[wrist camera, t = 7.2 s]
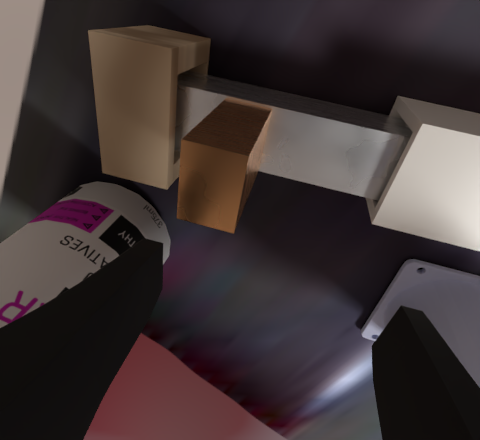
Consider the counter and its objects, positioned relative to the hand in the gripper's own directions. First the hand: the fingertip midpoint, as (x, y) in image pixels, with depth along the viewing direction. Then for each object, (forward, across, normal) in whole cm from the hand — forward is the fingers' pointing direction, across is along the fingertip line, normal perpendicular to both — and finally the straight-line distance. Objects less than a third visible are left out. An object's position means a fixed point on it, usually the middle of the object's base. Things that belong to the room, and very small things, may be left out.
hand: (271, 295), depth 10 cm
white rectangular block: (+10, -8, -2) cm, 13 cm away
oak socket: (+10, +7, -2) cm, 13 cm away
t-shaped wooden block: (+10, 0, -2) cm, 11 cm away
